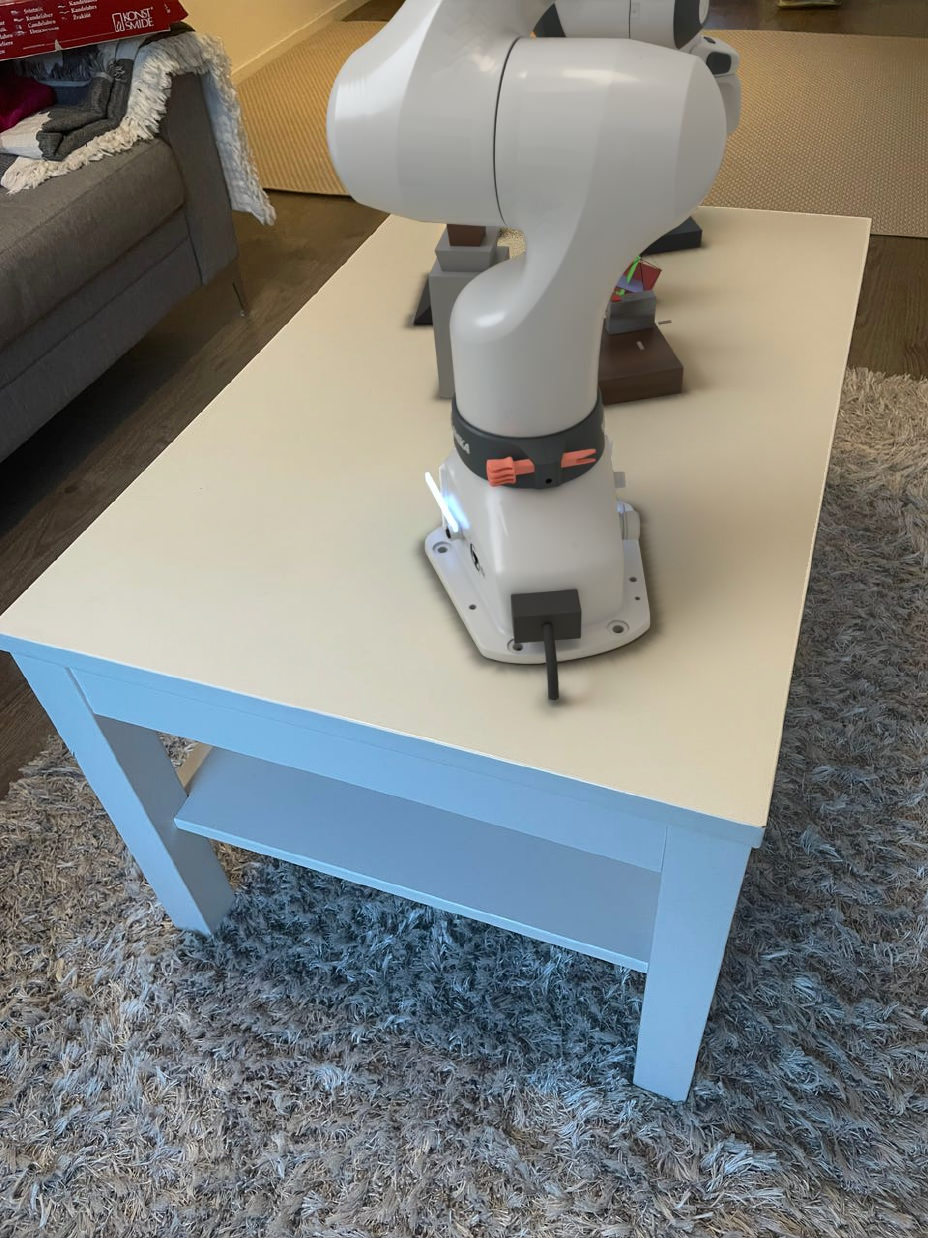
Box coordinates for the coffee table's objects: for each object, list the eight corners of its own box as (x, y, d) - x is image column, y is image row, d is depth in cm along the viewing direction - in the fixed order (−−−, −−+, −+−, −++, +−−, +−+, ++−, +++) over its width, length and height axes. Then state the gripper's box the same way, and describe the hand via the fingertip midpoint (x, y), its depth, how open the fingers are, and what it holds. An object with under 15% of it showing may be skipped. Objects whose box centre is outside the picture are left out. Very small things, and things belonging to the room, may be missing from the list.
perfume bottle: (503, 400, 101) (495, 231, 88) (440, 397, 102) (423, 229, 89) (513, 366, 105) (507, 200, 92) (453, 363, 107) (439, 199, 94)
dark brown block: (696, 390, 100) (699, 363, 97) (587, 407, 99) (588, 380, 96) (655, 326, 109) (657, 300, 107) (555, 342, 108) (555, 316, 106)
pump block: (700, 246, 122) (704, 215, 119) (624, 258, 121) (625, 226, 118) (670, 209, 130) (672, 178, 127) (598, 219, 130) (599, 189, 127)
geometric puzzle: (671, 270, 114) (633, 217, 110) (674, 298, 109) (634, 244, 105) (621, 305, 117) (582, 255, 113) (621, 333, 113) (580, 282, 109)
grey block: (649, 320, 104) (652, 287, 101) (654, 327, 103) (657, 294, 100) (605, 327, 104) (606, 294, 101) (609, 335, 103) (610, 301, 100)
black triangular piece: (472, 326, 112) (469, 289, 109) (410, 326, 113) (406, 289, 110) (484, 275, 121) (481, 239, 117) (426, 275, 122) (422, 240, 118)
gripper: (579, 77, 108) (577, 201, 118) (753, 54, 110) (737, 178, 120) (565, 61, 113) (565, 181, 123) (733, 38, 114) (719, 159, 124)
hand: (651, 180), depth 121 cm, fingers closed
